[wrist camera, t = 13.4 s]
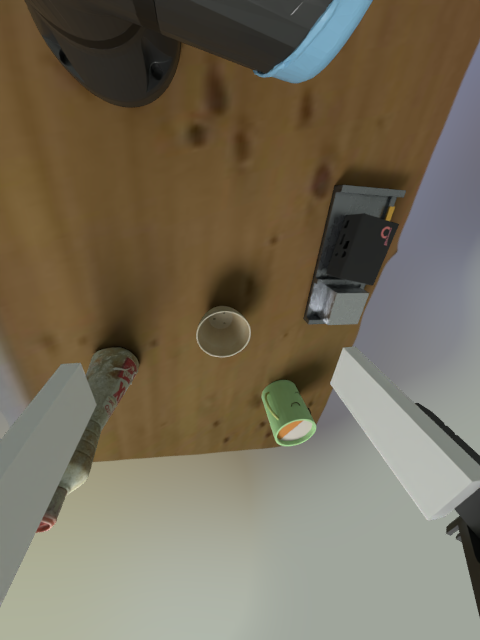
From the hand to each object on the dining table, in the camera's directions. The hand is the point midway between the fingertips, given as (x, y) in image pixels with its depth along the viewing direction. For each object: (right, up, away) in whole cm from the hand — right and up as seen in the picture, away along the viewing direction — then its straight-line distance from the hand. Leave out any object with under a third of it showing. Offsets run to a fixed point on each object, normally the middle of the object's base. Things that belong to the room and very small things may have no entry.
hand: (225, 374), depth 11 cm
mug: (+11, -17, +49) cm, 53 cm away
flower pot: (-3, +4, +35) cm, 35 cm away
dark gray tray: (+22, +15, +33) cm, 42 cm away
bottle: (-26, -6, +36) cm, 44 cm away
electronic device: (+22, +16, +31) cm, 41 cm away
